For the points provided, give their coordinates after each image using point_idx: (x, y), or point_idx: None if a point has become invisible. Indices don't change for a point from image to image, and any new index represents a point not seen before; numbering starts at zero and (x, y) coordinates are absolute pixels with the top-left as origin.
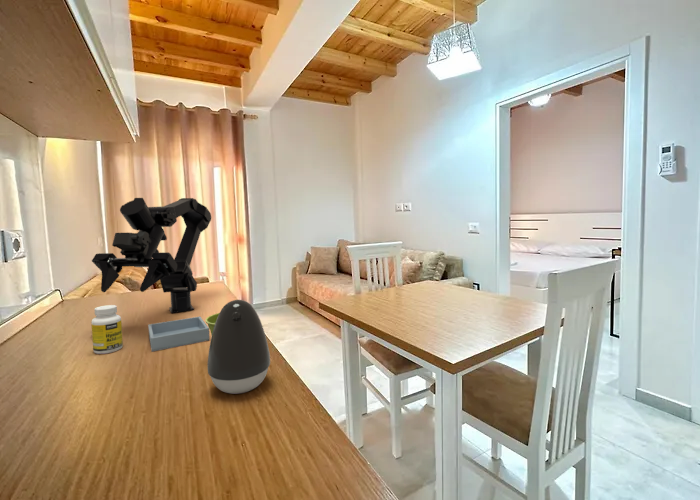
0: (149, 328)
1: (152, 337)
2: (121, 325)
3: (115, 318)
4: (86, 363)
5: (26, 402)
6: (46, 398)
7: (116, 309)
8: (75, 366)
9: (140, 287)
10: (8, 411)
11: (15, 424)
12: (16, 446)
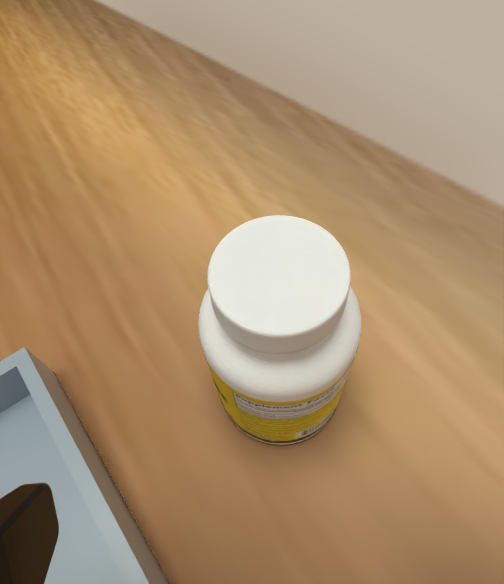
0: (113, 524)
1: (20, 360)
2: (214, 379)
3: (204, 303)
4: None
5: (216, 89)
6: (185, 102)
7: (215, 311)
8: None
9: (29, 493)
10: (220, 66)
11: (161, 44)
12: (105, 14)
